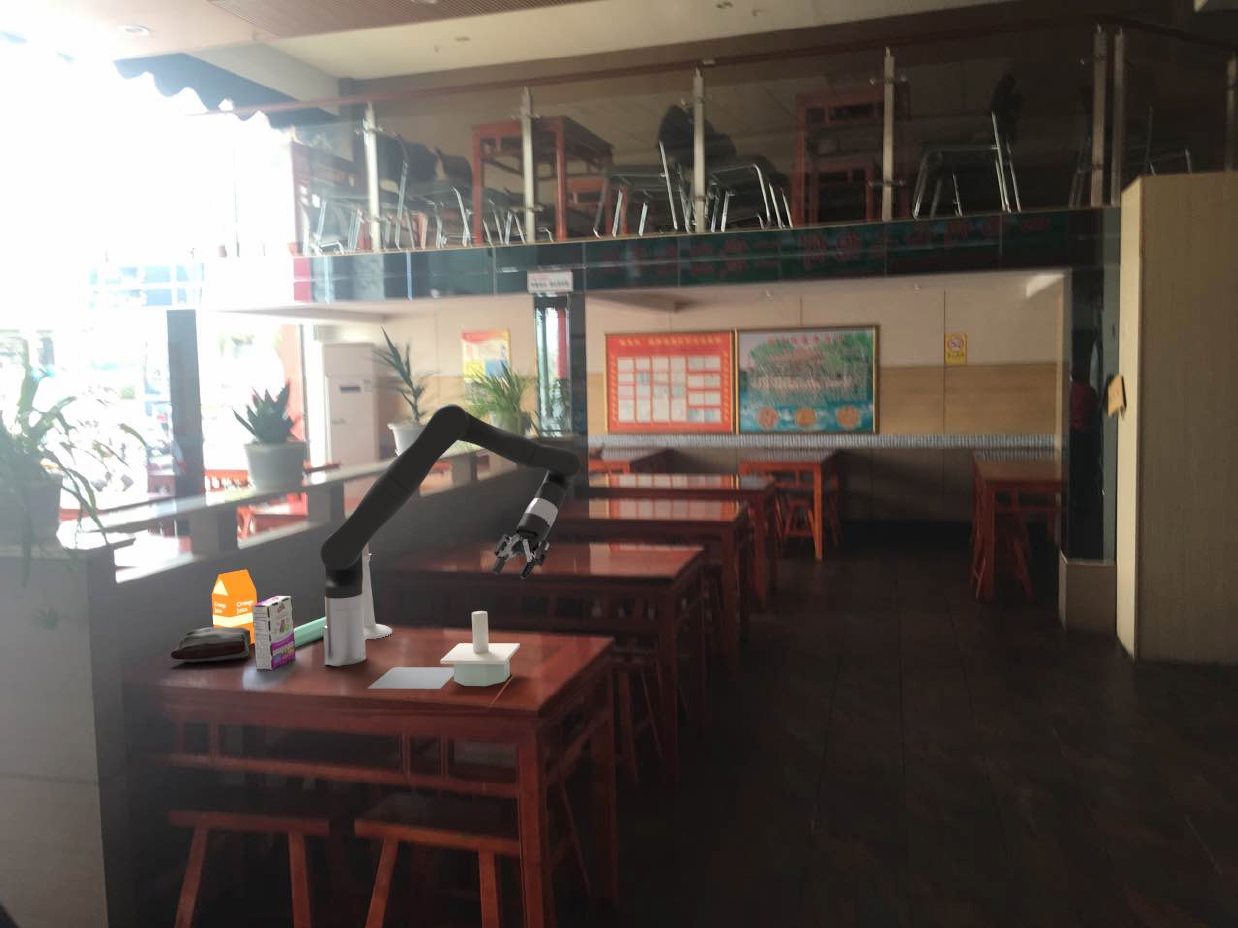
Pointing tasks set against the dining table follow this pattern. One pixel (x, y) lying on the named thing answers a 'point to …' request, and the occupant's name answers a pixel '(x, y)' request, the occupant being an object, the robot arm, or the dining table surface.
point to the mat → (414, 678)
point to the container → (309, 632)
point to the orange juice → (234, 601)
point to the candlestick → (370, 603)
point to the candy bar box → (273, 632)
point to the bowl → (481, 674)
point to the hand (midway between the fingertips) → (508, 575)
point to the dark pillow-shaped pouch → (213, 644)
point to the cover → (480, 646)
